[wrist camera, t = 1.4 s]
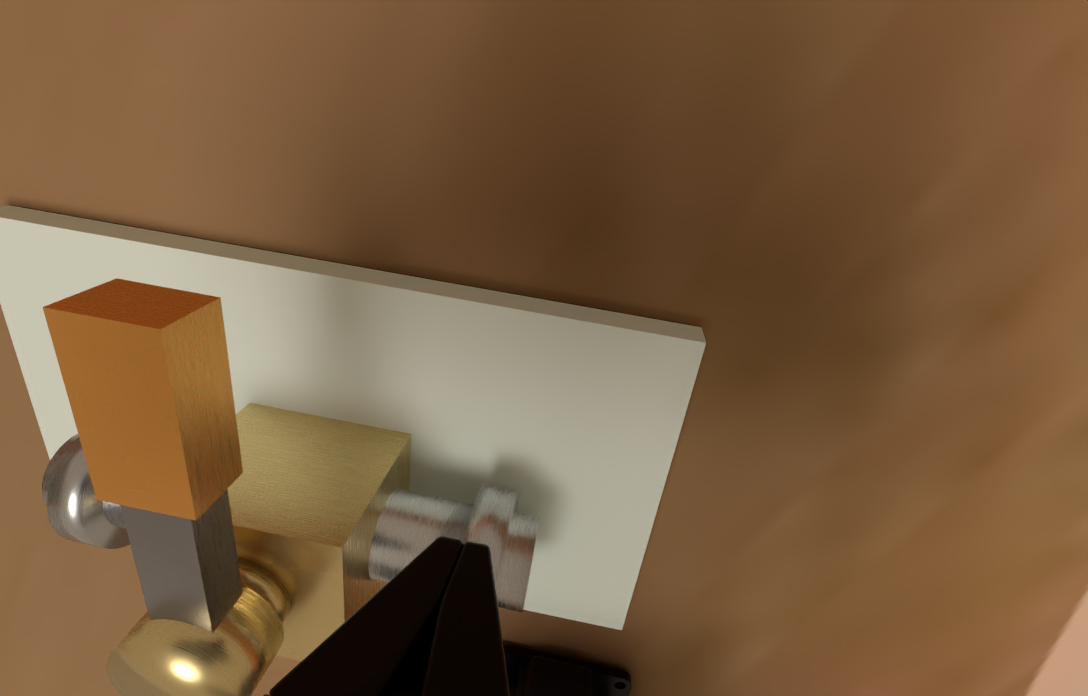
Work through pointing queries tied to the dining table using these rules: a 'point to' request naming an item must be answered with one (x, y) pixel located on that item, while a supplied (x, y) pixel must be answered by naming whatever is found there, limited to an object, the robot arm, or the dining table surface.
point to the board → (411, 381)
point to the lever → (167, 481)
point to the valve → (319, 518)
